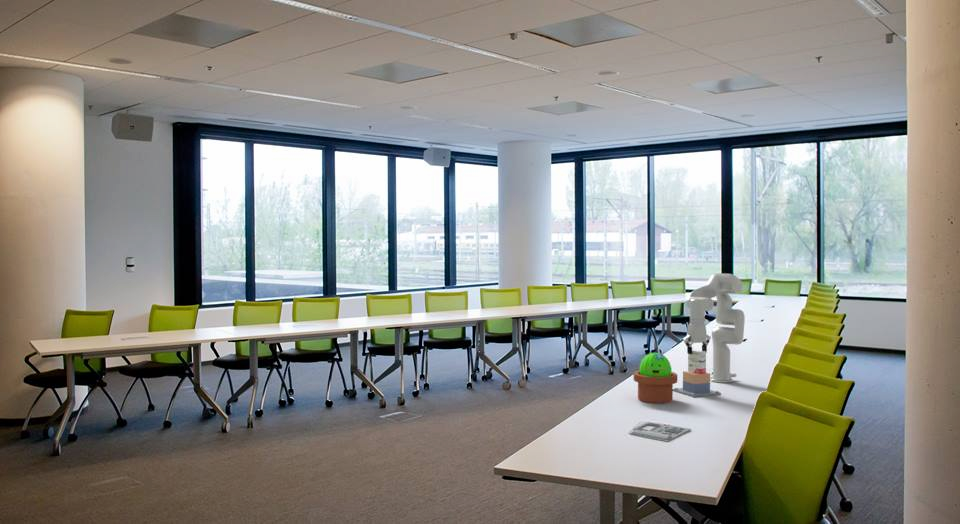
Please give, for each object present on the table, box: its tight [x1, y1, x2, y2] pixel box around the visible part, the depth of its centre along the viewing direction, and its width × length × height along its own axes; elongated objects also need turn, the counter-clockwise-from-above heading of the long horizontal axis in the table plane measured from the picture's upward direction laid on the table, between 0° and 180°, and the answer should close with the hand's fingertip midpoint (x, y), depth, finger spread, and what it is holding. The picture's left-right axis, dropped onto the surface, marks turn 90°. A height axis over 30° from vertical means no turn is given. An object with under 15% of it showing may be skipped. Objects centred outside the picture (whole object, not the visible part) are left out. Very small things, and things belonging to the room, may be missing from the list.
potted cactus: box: [633, 352, 678, 404], centre depth 377 cm, size 22×22×25 cm
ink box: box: [687, 349, 707, 374], centre depth 394 cm, size 8×5×12 cm, turn 36°
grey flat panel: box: [629, 421, 692, 443], centre depth 314 cm, size 23×3×20 cm
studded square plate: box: [673, 370, 722, 398], centre depth 394 cm, size 18×18×11 cm
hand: (697, 353), depth 394 cm, fingers open, 9 cm apart
